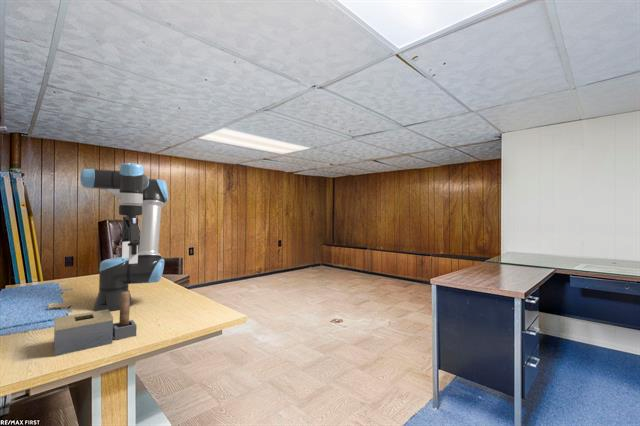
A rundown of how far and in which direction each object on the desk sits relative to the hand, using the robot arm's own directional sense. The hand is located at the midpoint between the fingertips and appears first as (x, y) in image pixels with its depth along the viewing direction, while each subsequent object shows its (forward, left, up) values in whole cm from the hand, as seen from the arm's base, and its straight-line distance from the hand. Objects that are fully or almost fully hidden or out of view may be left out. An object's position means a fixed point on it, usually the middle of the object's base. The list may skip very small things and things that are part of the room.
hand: (129, 260), depth 113 cm
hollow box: (+2, -13, -27) cm, 30 cm away
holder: (+2, -1, -27) cm, 27 cm away
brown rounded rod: (+2, -1, -27) cm, 27 cm away
